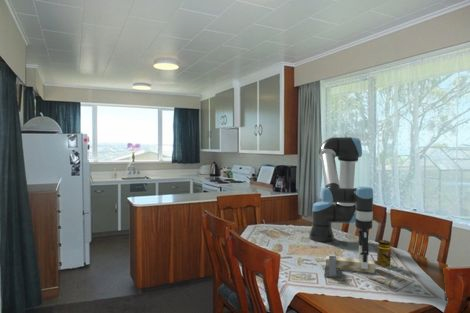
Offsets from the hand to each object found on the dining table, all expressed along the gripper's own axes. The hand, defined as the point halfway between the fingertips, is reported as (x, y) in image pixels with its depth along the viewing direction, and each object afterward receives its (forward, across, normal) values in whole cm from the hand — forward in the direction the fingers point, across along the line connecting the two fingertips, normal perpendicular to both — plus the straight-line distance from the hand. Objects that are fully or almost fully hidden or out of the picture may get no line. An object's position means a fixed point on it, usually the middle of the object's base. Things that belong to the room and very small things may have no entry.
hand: (362, 263), depth 154 cm
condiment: (+3, -10, +10) cm, 15 cm away
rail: (+3, +9, -14) cm, 17 cm away
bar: (+4, 0, -6) cm, 7 cm away
